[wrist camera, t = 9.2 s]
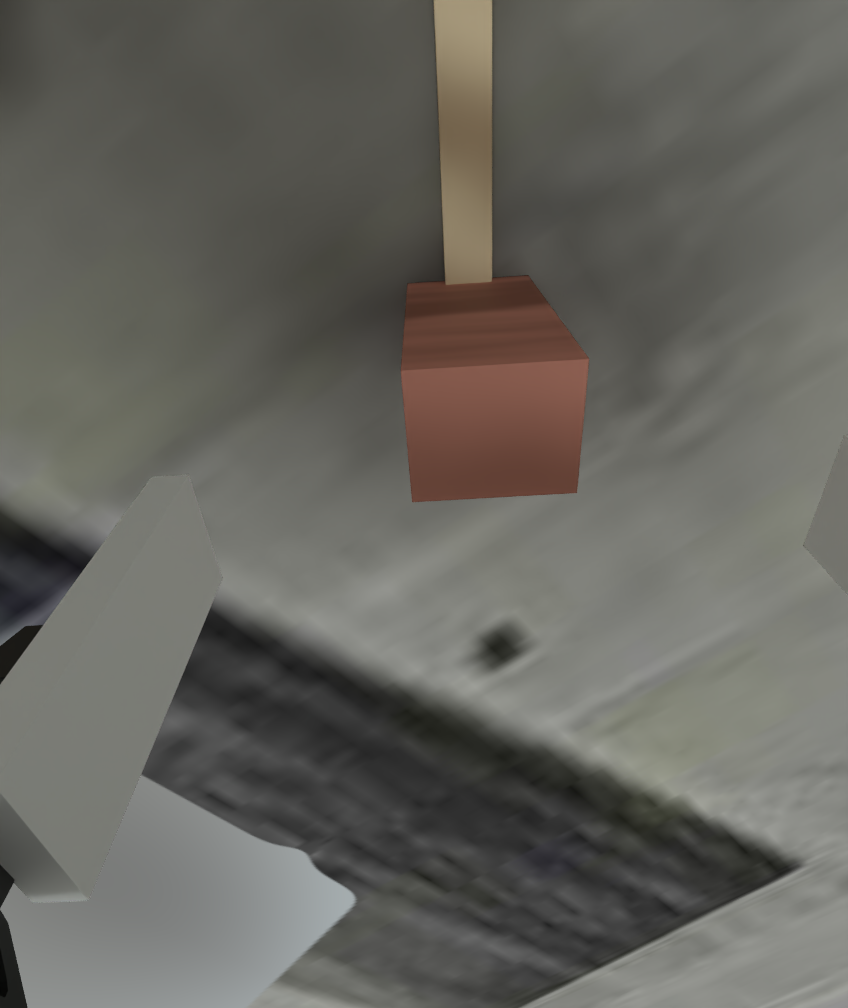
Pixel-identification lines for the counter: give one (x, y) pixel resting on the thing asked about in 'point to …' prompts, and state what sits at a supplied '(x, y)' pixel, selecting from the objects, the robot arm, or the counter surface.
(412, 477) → the tethered block
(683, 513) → the counter surface
